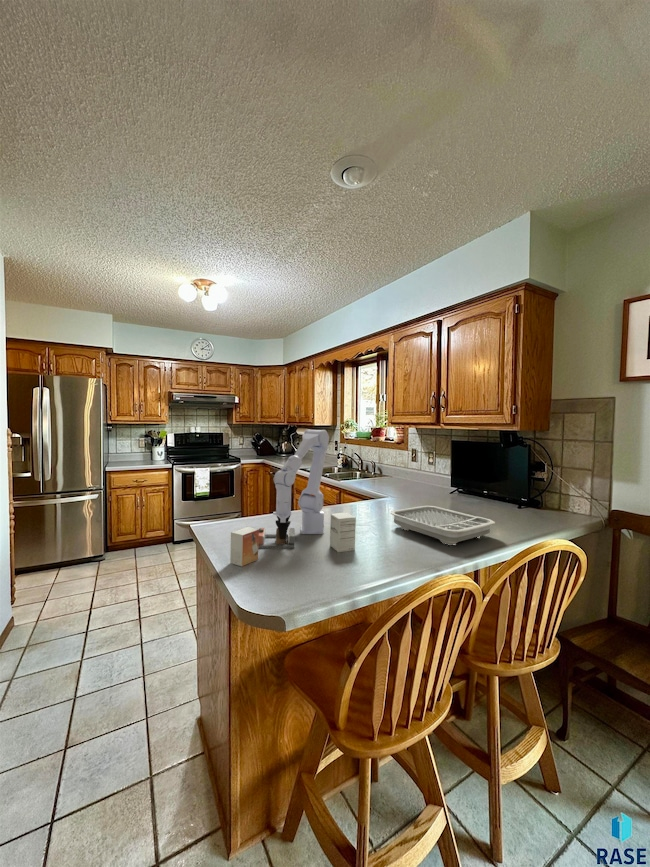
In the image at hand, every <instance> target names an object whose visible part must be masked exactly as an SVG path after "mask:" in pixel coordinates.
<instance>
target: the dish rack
mask: <svg viewBox="0 0 650 867" xmlns="http://www.w3.org/2000/svg"><path fill="white" fill-rule="evenodd" d="M390 515H391V516H393V523H394V524H396V525H397V526H398V527H400V529H401V530H403V529H404V531H406V530H407V531H408V532H409V530H411V531H415V532H417V533H419V534H423V535H426V536H429V537H432V538H433V539H438V540H439V541H440V542H443V543H446V544H449V545H453V544H456V543H459V542H462V541H466V540H470V539H474V538H476V537H479V536H481V537H482V536H484V535H488V534H490V532H491V530H490V529H491V526H494V525H495V524H496V521H494V520H492V519H490V518H485V517H482V516H476V515H472V514H468V513H464V512H461V511H456V510H451V509H447V508H444V507H439V506H435V505H420V506H413V507H409V508H408V507H407V508H402V509H401V508H400V509H396V510H391V511H390ZM456 545H457V544H456Z"/></svg>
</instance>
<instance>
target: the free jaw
mask: <svg viewBox="0 0 650 867" xmlns="http://www.w3.org/2000/svg"><path fill="white" fill-rule="evenodd" d="M258 529H259V545H265V541H266V538H265V534H266V528H265V527H258Z"/></svg>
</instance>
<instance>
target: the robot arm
mask: <svg viewBox="0 0 650 867" xmlns="http://www.w3.org/2000/svg"><path fill="white" fill-rule="evenodd" d="M301 437H302V441H301V442H300V444H299V446H298V448H297V449H296V451H295V453H294V455H290V456H289V457H288V458H287V460H286V462H285V463H284V464H283V465H282V467H281V469H280V470H277V471H276V472H275V474H274V477H273V478H272V479H273V483H274V485H275V489H276V495H275V496H276V498H275V499H276V502H275V503H276V504H275V508H276V509H275V511H273V513H272V515H273V516H274V515H275V516H276V518H277V520H275V525H276V527H277V528H278V531H279V537H280V539H286V535H287V534H288V529H289V527H290V525H291V523H292V522H291V520H290V518H291V515H292V511H291V510H292V486H293V484H295V479H296V477H297V472H298V471H299V470H300V468H301V467H302V464H303V461H302V460H303V459H304V457H305V456H306V454H307V453H308V452H309V451H310V450H312V452H313V454H312V461H311V465H310V470H309V475H308V482H307V486H306V488H304V489H303V490H302V491H301V494H300V496H299V498H298V503H297V504H298V507H299V508H300V511H301V527H300V535H301V534H302V535H323V534H324V529H325V521H324V520H325V515H324V514H325V513H324V511H323V510H322V509H323V507H324V494H323V492H322V491H321V490H320V486H321V482H322V476H323V470H324V465H325V459H326V454H327V451H328V446H329V441H330V435H329V433H328V431H327V430H326V429H308V428H307V429H305V431H304V432H303V434H302V436H301ZM286 540H287V539H286Z"/></svg>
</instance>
